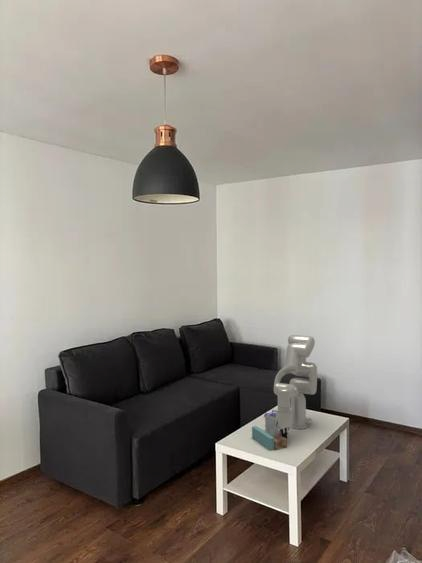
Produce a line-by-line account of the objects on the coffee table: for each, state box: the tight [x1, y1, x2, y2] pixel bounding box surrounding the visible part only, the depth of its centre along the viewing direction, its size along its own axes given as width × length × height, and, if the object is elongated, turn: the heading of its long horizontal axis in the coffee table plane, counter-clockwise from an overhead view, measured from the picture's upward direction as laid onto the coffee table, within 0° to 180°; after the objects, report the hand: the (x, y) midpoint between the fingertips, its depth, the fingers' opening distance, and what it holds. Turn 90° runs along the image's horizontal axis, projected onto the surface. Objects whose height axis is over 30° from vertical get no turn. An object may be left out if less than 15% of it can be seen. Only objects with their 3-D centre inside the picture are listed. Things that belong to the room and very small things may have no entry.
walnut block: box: [272, 434, 288, 451], centre depth 249 cm, size 8×8×5 cm
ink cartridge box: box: [264, 409, 282, 436], centre depth 267 cm, size 10×6×14 cm, turn 58°
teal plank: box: [251, 425, 275, 451], centre depth 253 cm, size 3×20×7 cm, turn 25°
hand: (284, 438), depth 252 cm, fingers closed
